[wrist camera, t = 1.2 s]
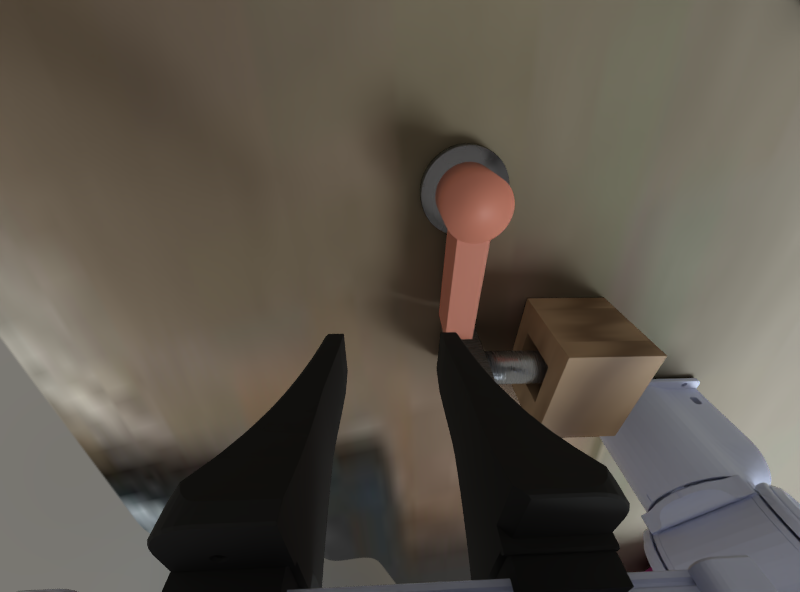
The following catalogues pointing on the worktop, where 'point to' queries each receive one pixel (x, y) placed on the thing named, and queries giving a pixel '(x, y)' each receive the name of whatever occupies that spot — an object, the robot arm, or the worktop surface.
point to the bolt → (509, 363)
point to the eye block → (584, 365)
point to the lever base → (446, 162)
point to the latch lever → (469, 238)
